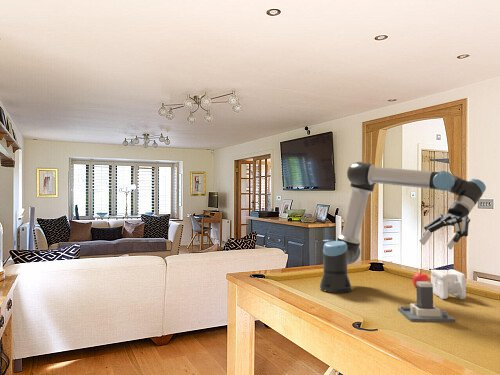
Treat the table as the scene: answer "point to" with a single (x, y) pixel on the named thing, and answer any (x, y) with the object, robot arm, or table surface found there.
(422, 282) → the tall square peg
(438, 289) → the white notched block
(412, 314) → the board
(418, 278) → the apple
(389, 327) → the table surface
